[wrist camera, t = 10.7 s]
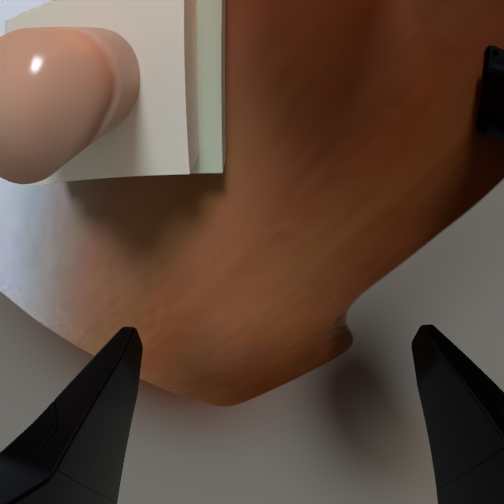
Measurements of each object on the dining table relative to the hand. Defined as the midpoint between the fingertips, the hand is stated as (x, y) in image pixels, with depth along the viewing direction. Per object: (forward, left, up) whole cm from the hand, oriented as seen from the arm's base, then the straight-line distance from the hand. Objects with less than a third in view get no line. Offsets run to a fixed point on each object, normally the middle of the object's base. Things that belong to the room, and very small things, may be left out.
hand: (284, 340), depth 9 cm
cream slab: (+8, -7, -10) cm, 15 cm away
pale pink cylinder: (+8, -7, -7) cm, 13 cm away
